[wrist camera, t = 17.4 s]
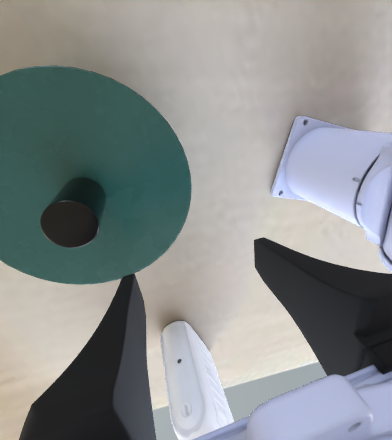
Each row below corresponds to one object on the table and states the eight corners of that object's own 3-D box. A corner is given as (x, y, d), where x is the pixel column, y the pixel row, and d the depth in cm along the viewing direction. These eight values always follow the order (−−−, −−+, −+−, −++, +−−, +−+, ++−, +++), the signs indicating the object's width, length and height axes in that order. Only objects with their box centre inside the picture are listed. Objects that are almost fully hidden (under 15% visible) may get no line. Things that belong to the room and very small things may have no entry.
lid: (168, 54, 13) (189, 25, 8) (199, 248, 19) (221, 291, 14) (-113, 87, 11) (-285, 72, 6) (25, 296, 17) (-12, 363, 12)
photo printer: (153, 330, 29) (169, 462, 18) (184, 313, 29) (217, 434, 18) (188, 368, 34) (217, 488, 23) (214, 353, 34) (254, 466, 23)
